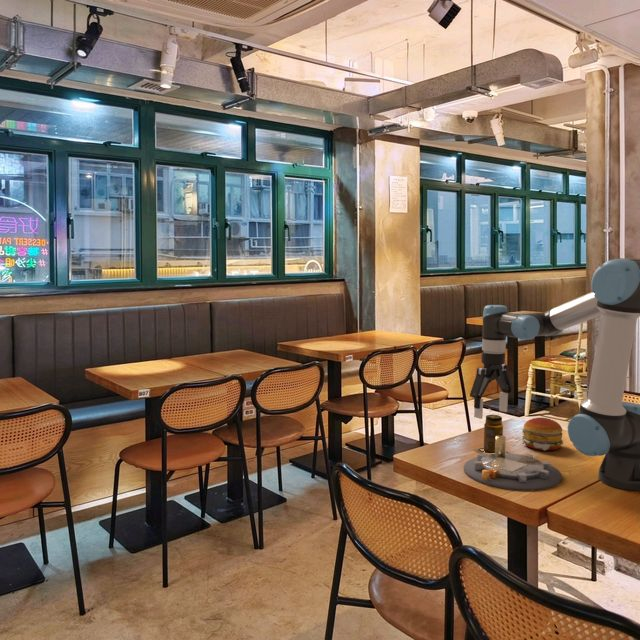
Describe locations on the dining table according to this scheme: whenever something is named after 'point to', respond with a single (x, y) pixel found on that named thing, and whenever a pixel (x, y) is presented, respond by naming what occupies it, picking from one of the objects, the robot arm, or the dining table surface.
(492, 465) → the grey disc with blocks
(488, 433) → the condiment
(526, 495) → the dining table surface
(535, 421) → the burger
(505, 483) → the base
